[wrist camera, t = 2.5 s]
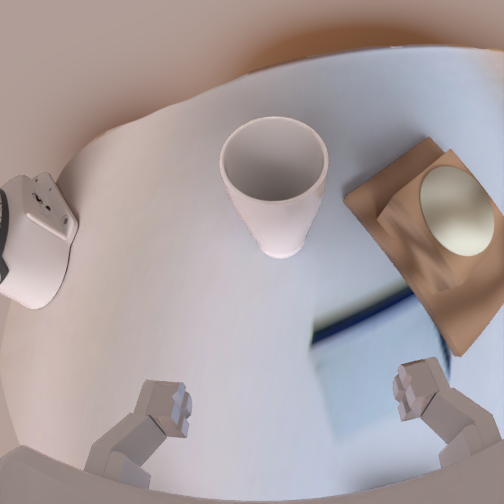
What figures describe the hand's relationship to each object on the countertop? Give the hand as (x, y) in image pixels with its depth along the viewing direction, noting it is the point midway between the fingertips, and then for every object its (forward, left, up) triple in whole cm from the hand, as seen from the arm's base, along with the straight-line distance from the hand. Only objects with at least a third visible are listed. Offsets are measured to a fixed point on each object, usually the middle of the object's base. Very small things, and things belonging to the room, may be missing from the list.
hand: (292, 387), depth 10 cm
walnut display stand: (+2, +22, -19) cm, 29 cm away
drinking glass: (-10, +6, -19) cm, 22 cm away
